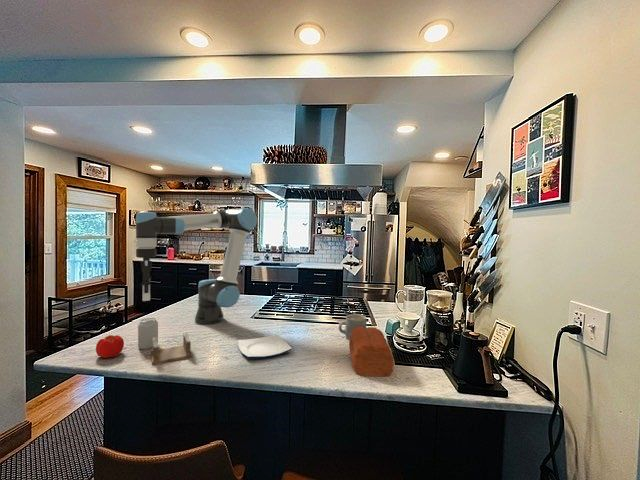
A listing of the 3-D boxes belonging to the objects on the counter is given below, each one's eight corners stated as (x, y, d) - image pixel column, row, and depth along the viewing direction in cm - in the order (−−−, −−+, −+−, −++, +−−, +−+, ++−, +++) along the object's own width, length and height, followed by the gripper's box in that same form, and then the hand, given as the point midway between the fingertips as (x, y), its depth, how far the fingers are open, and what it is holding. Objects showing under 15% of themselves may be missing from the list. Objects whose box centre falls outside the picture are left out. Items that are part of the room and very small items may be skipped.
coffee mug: (365, 334, 149) (365, 314, 149) (366, 341, 139) (367, 320, 139) (338, 333, 150) (338, 313, 150) (338, 340, 140) (338, 319, 140)
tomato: (103, 362, 113) (103, 343, 112) (91, 357, 117) (91, 338, 117) (129, 353, 121) (129, 335, 120) (117, 349, 125) (117, 331, 125)
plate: (245, 364, 114) (245, 358, 114) (235, 345, 132) (235, 339, 132) (294, 355, 123) (294, 349, 123) (278, 338, 141) (278, 333, 141)
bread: (382, 348, 133) (383, 324, 132) (395, 378, 106) (396, 349, 106) (348, 346, 133) (348, 323, 133) (352, 376, 107) (352, 347, 106)
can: (149, 351, 124) (149, 322, 123) (133, 349, 125) (133, 321, 125) (162, 344, 131) (162, 317, 130) (147, 342, 132) (147, 316, 132)
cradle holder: (188, 346, 129) (188, 331, 129) (192, 357, 119) (192, 341, 118) (151, 353, 122) (151, 337, 121) (151, 365, 111) (151, 347, 111)
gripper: (137, 246, 135) (137, 292, 136) (134, 250, 114) (135, 304, 115) (155, 246, 139) (156, 290, 140) (156, 249, 118) (157, 302, 118)
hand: (146, 297), depth 127 cm, fingers open, 13 cm apart
